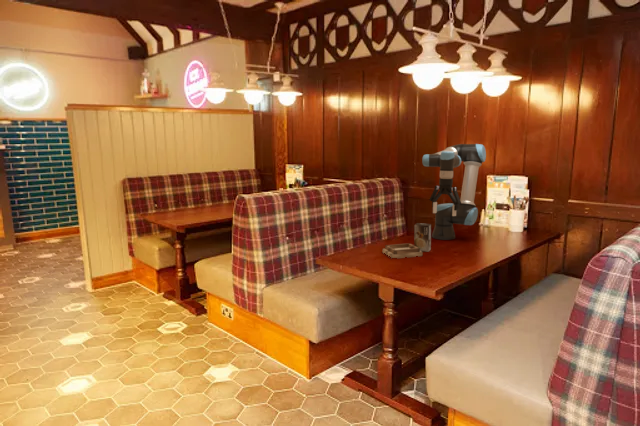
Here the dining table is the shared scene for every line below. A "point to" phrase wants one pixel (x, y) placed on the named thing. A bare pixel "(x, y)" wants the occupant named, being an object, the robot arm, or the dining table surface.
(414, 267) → the dining table surface
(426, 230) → the coffee box
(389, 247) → the shallow beige rectangular tray
